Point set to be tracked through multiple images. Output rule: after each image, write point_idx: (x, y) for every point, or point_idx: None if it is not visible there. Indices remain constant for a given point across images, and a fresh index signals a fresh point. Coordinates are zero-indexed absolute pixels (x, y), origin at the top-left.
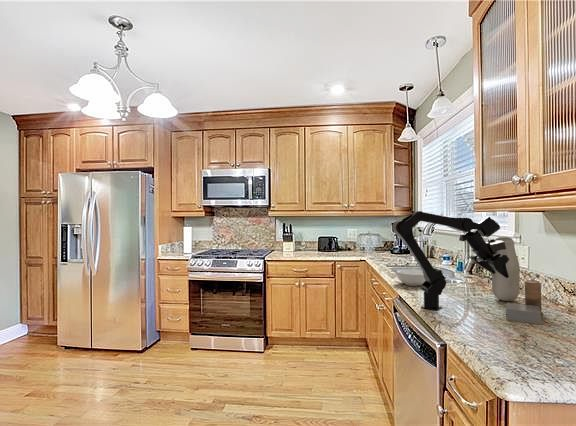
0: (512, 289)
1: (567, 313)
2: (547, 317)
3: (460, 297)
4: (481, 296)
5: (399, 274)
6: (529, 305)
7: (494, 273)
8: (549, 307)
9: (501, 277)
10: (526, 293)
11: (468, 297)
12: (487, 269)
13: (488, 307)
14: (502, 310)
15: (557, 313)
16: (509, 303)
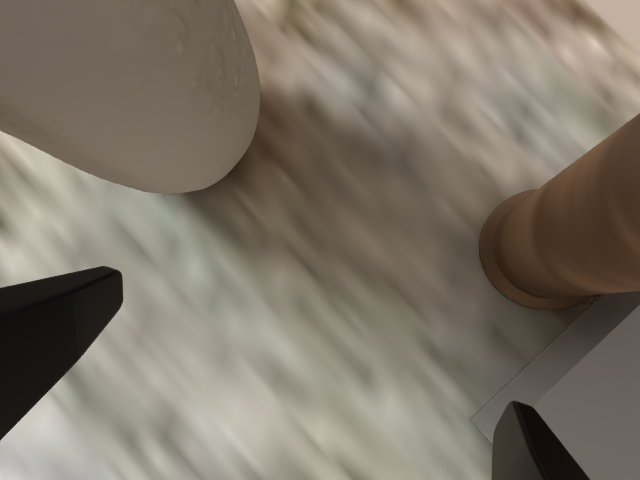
0: (246, 102)
1: (579, 25)
2: None
3: None
4: (47, 201)
5: None
6: (636, 332)
7: (121, 290)
8: (428, 9)
9: (125, 121)
10: (620, 286)
11: None
12: (12, 421)
13: (302, 416)
14: (401, 385)
15: (565, 84)
16: None
